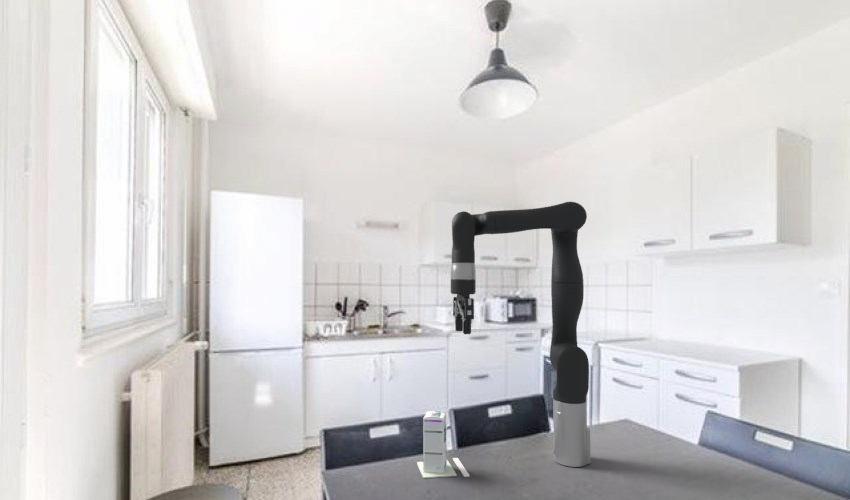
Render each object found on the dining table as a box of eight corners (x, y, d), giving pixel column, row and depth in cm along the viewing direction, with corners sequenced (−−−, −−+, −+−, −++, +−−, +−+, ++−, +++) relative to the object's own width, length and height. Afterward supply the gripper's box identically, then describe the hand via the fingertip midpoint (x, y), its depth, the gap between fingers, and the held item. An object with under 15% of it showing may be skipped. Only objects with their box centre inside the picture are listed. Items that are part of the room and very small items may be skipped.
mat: (447, 460, 125) (447, 459, 125) (456, 475, 115) (456, 474, 115) (416, 463, 124) (416, 461, 124) (423, 478, 114) (423, 477, 114)
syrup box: (444, 473, 116) (444, 417, 117) (422, 472, 117) (423, 416, 118) (446, 465, 122) (447, 411, 123) (425, 463, 122) (426, 410, 124)
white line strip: (457, 458, 127) (457, 457, 127) (469, 476, 115) (469, 475, 115) (452, 459, 127) (452, 458, 127) (464, 477, 115) (464, 475, 115)
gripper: (482, 278, 126) (482, 335, 125) (468, 278, 140) (468, 330, 139) (457, 277, 125) (457, 335, 123) (445, 278, 138) (445, 330, 137)
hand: (462, 332), depth 131 cm, fingers open, 8 cm apart
